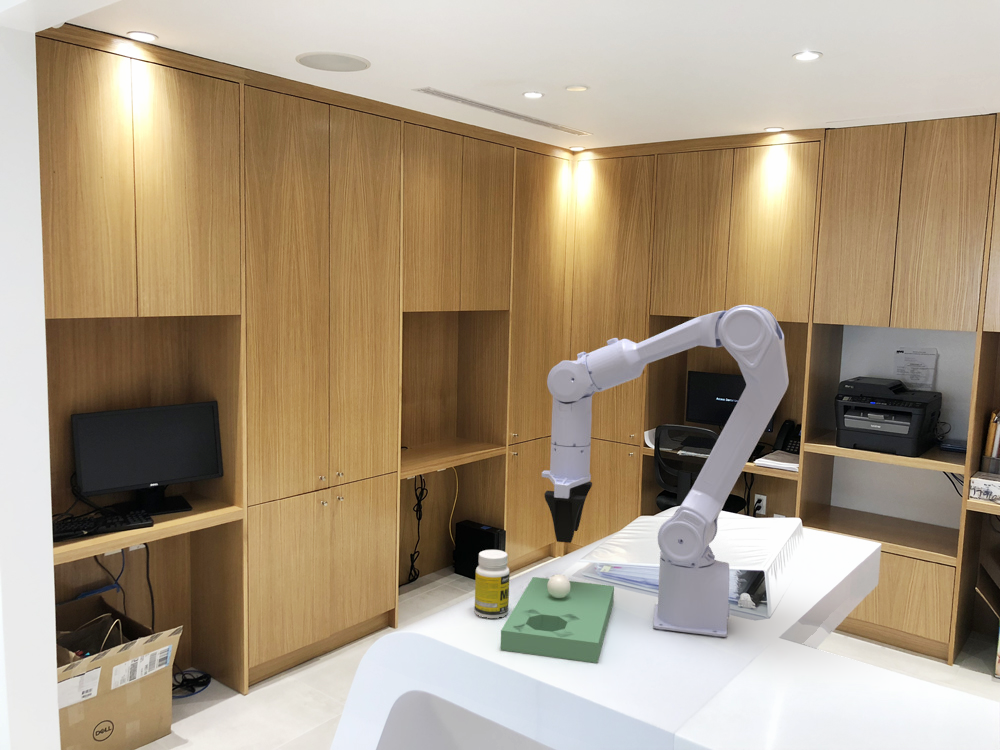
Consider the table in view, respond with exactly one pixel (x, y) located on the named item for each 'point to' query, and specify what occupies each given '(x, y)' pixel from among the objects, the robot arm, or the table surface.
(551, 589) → the ball
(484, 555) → the supplement bottle
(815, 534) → the table surface
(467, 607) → the table surface
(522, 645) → the green
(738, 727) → the table surface
